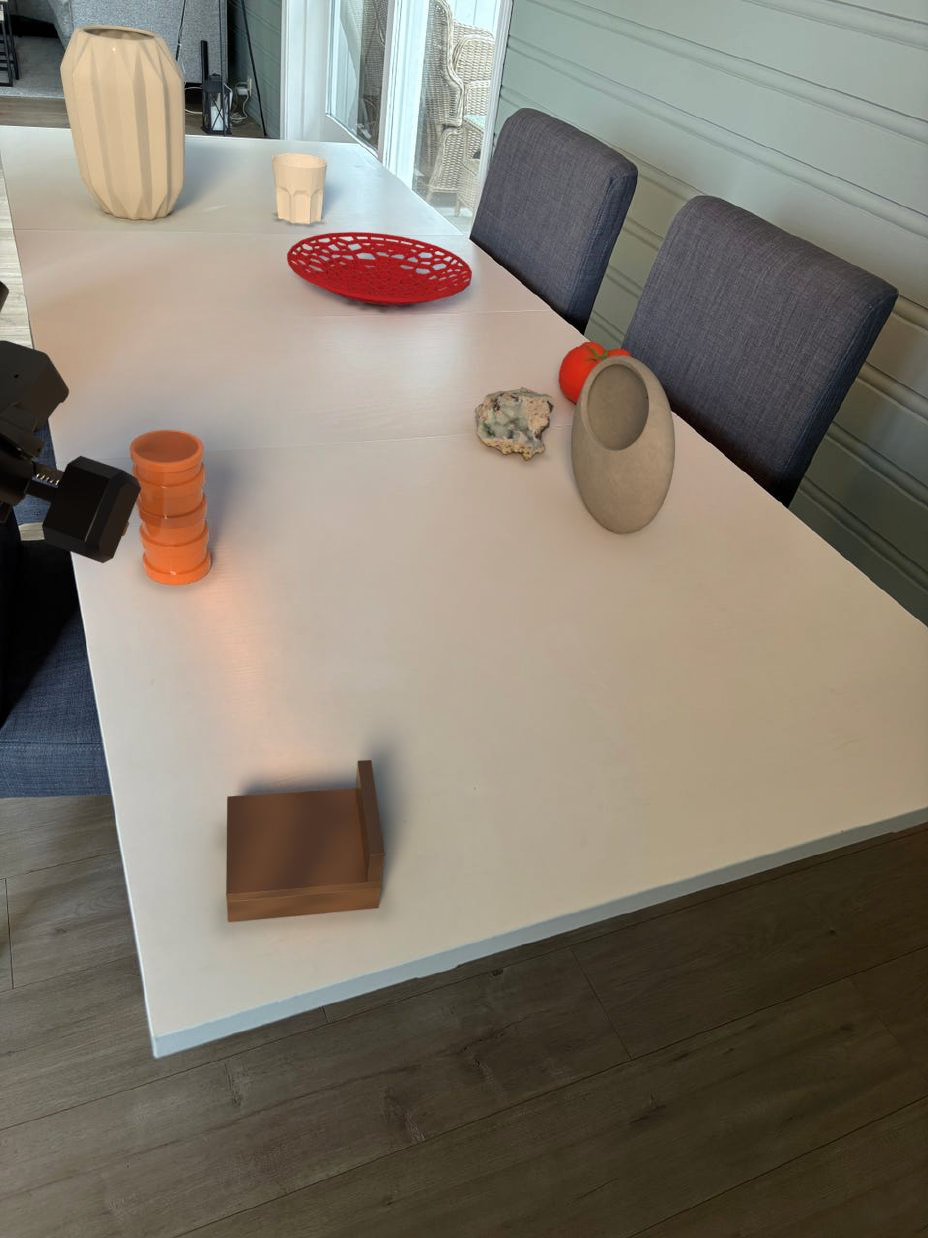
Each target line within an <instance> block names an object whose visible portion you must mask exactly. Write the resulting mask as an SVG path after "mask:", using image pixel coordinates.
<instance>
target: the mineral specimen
mask: <svg viewBox="0 0 928 1238" xmlns="http://www.w3.org/2000/svg"><path fill="white" fill-rule="evenodd" d="M555 407H556V403H555V398H554V396H552V395H550V394H547V393H538V392H536V391H533V390H531V389H529V388H527V387H523V386H521V387H520V388H517V389H511V390H498V391H495V392H491V393H488V394H486V395H485V397H484V400H483V403H480V404H479V405H478V406H477V407H476V408H475V409H474V413H475V414H476V415H475V417H474V420H475V421H476V429H477V430H476V433H477V435H478V437H479V438H480V441H481V442H482V443H483V444H484V445H486V446H487V447H493V448H494V449H497V450H499V452H501V453H502V454H503V455H507V454H512V453H513V452H516V453H521V454H522V457H523V459H524V461H530V459H532V457H533V456H534V455H535V454H541V453H544V451H545V450H546V446H545V443H544V442H543V439H542V438H543V433H544V432H545V431H546V430H547V429H548V428H550V426H551V419H550V416H551V414H552V412H553V411H554V408H555Z"/></svg>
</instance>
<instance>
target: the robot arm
mask: <svg viewBox="0 0 928 1238" xmlns="http://www.w3.org/2000/svg"><path fill="white" fill-rule="evenodd" d="M9 294H10V289H9V287H8V286H7V285H6V284H5V283H4V282H2V281H1V280H0V313H1V312H2V310H3V307H4V305H5V303H6V300H7V299H8V297H9ZM69 394H70V389H69V387H68V385H67V383H66V382H65V381H64V379H63V377H62V376H61V374H60V372H59V370H58V369H57V367H56V366H55V364H54V362H53V361H52V359H51V358H50V356H49V355H48V354H47V352H44V351H41V350H38V349H34V348H31V347H28V346H25V345H22V344H19V343H16V342H14V341H9V340H4V339H2V340H1V339H0V523H3V524H6V522H7V519H8V518H9V514H10V513H11V510H12V508H13V507H16V506H18V505H20V503H21V502H22V501H24V500H25V499H26V498H27V496H30V497H32V498H35V499H38V500H40V501H44V502H47V503H49V504H50V505H49V507H48V509H47V512H46V514H45V517H44V520H43V522H42V524H41V529H42V533H43V534H42V535H43V539H44V543H47V544H49V545H52V546H53V547H57V548H60V549H63V550H65V551H68V552H71V553H74V554H75V555H78V556H82V557H85V558H87V559H90V560H93V561H95V562H98V563H101V564H104V563H106V562H108V561H111V560H112V559H114V557H115V555H116V553H117V550H118V547H119V545H120V542H121V539H122V538H123V537H124V536H125V535H126V533H127V530H128V528H129V525H130V522H129V520H130V518H131V515H132V512H133V510H134V508H135V505H136V500H137V498H138V495H139V493H140V490H141V486H140V484H139V481H138V479H137V478H136V477H134V476H133V474H132V473H129V472H127V471H126V470H123V469H121V468H119V467H115V466H113V465H109V464H106V463H104V462H100V461H98V460H94V459H91V458H88V457H86V456H83V455H79V456H78V457H76V458H74V459H72V460H71V461H70V462H68V463H66V466H65V468H64V471H63V470H60V469H58V468H55V467H52V466H49V465H46V464H43V463H41V462H38V461H34V460H33V459H35V460H39V459H40V456H41V454H42V452H43V449H44V447H45V445H46V441H45V440H42V439H41V438H39V437H37V436H35V435H33V434H35V433H37V432H39V430H41V428H42V427H43V426H45V423H46V422H47V421H48V420H49V418H50V417H51V415H52V414H53V413H54V412H55V411H56V410H57V408H58V407H59V405H60V404H63V403H64V402H65V401H66V400H67V399H68V397H69ZM34 478H36V479H37V480H40V481H37V480H35V479H34ZM41 481H43V482H44V481H45V482H46V483H50V484H52V485H56V486H57V487H55V486H52V485H49V484H46V483H43V482H41Z"/></svg>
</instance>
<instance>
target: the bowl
mask: <svg viewBox="0 0 928 1238" xmlns="http://www.w3.org/2000/svg"><path fill="white" fill-rule="evenodd" d="M344 238H351V239H352V240H347V239H344ZM325 239H326V240H327V239H328V241H320V240H325ZM304 245H306V246H308V247H311V249H306V248H304ZM352 245H358V246H359V248H356V249H351V248H350V247H349V246H352ZM330 246H334V247H336V248H337V249H338V250H337V249H332V248H330ZM299 248H300V249H299ZM326 251H327V252H326ZM437 252H438V253H440V254H437ZM378 253H380V254H378ZM381 253H382V254H385V255H381ZM360 254H367V255H371V256H372V257H373V258H362V257H361V258H360V257H359V256H358V255H360ZM422 254H430V255H431V256H430V257H421V256H420V255H422ZM333 256H336V257H333ZM394 256H403V258H400V257H394ZM322 257H325V258H327V260H325V259H324V258H322ZM348 257H351V258H348ZM449 257H450V259H449V260H446V259H447V258H449ZM412 258H414V259H415V260H417V261H412V260H409V259H412ZM436 259H437V260H436ZM286 261H287V264H288V266H289V268H290V269H291V270H292V271H293V272H294V274H296V275H297V276H298V277H300V278H301V279H303V280H305V281H306V282H308V283H310V284H313V285H314V286H317V287H319V288H321V289H324V290H326V291H329V292H331V293H334V294H336V295H339V296H342V297H345V298H348V299H351V300H355V301H358V302H362V303H366V304H372V305H378V306H402V305H413V304H420V303H427V302H434V301H438V300H442V299H445V298H449V297H453V296H455V295H457V294H459V293H461V292H463V291H465V290H466V289H467V288H468V287H470V285H471V282H472V277H473V270H472V268H471V267H470V265H469V263H467V262H466V261H465V260H464V259H463V258H461V257H460V256H458V255H457V254H455V253H453V252H452V251H450V250H447V249H445V248H443V247H440V246H438V245H436V244H432V243H428V242H425V241H422V240H418V239H414V238H409V237H406V236H400V235H394V234H387V233H378V232H362V231H361V232H359V231H346V232H329V233H322V234H316V235H312V236H309V237H306V238H304V239H301V240H300V241H298V242H296V243H295V244H293V245H291V247H290V249H289V250H288V252H287V253H286ZM454 261H456V262H455V263H453V262H454ZM427 263H429V264H427ZM459 264H460V265H459ZM438 265H445V266H444V267H442V268H438V269H435V268H434V266H438ZM311 266H312V267H311ZM403 266H404V267H403ZM313 267H314V268H313ZM405 267H408V268H405ZM315 268H317V269H319V270H317V269H315ZM418 269H419V270H425V271H426V270H427V271H428V272H426V273H421V272H418V271H417V270H418ZM433 277H434V278H433Z"/></svg>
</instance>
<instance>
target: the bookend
mask: <svg viewBox="0 0 928 1238" xmlns="http://www.w3.org/2000/svg"><path fill="white" fill-rule="evenodd" d="M355 775H356V777H355V787H350V788H333V789H321V790H320V789H319V790H306V791H290V792H276V793H275V792H274V793H261V794H244V795H228V796H227V797H226V861H225V863H226V864H225V865H226V867H225V868H226V869H225V871H226V873H225V877H226V878H225V879H226V880H225V889H226V890H225V899H226V900H225V901H226V912H227V922H228V923H236V922H237V923H238V922H248V921H258V920H269V919H278V918H279V919H280V918H288V917H289V918H290V917H299V916H310V915H321V914H322V915H323V914H332V913H342V912H352V911H353V912H354V911H363V910H372V909H373V910H374V909H379V908H380V900H381V894H382V893H381V891H382V885H383V875H384V866H385V858H386V851H385V844H384V837H383V830H382V823H381V816H380V810H379V809H380V808H379V803H378V794H377V787H376V781H375V775H374V767H373V761H372V760H371V759H362V760H361V759H360V760H357V763H356V774H355Z"/></svg>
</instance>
